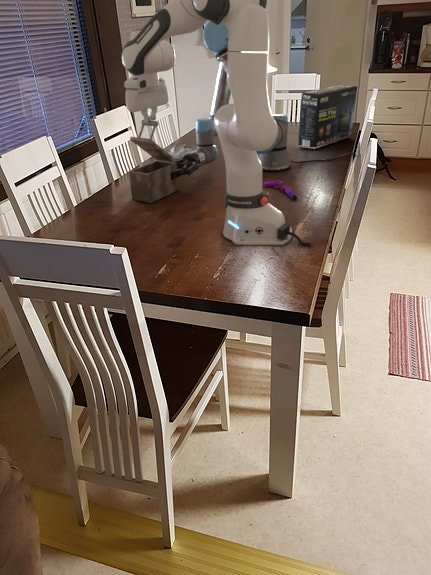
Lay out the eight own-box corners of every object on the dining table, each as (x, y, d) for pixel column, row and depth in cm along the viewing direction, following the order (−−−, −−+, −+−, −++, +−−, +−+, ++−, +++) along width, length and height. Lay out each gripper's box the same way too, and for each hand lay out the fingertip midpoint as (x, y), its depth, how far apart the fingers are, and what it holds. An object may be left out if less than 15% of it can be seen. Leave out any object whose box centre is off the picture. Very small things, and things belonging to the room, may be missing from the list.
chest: (150, 203, 176) (147, 174, 170) (132, 199, 181) (128, 171, 175) (178, 190, 188) (175, 163, 183) (159, 186, 193) (157, 160, 187)
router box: (314, 151, 231) (318, 94, 217) (296, 148, 237) (299, 92, 224) (352, 138, 251) (358, 85, 238) (335, 135, 258) (340, 83, 245)
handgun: (263, 185, 189) (263, 181, 188) (281, 183, 190) (281, 179, 189) (278, 202, 172) (278, 197, 171) (298, 200, 173) (298, 195, 172)
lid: (149, 142, 167) (157, 118, 167) (129, 139, 171) (137, 116, 172) (175, 162, 182) (182, 141, 183) (156, 160, 187) (163, 139, 187)
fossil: (184, 156, 217) (163, 136, 220) (174, 174, 223) (154, 154, 227) (205, 153, 231) (186, 134, 234) (195, 171, 237) (176, 152, 240)
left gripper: (157, 76, 173) (160, 115, 180) (120, 83, 158) (125, 125, 165) (170, 77, 170) (173, 116, 177) (134, 84, 155) (139, 126, 162)
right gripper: (215, 172, 197) (184, 187, 181) (173, 165, 208) (141, 179, 192) (214, 154, 193) (183, 168, 177) (172, 149, 204) (139, 162, 188)
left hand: (150, 120), depth 171 cm, fingers closed
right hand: (161, 174), depth 184 cm, fingers closed on chest, 10 cm apart
